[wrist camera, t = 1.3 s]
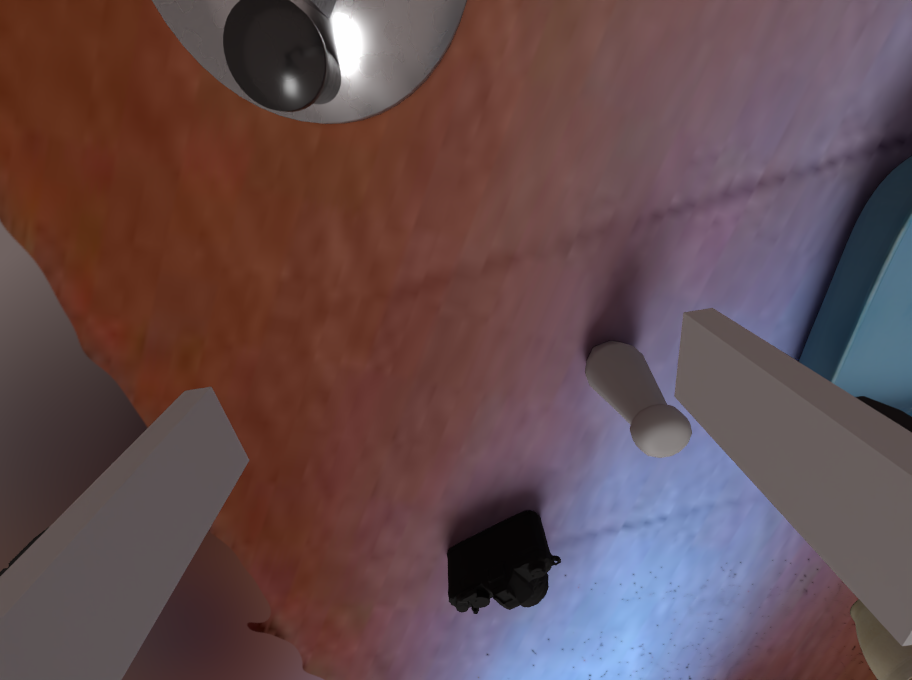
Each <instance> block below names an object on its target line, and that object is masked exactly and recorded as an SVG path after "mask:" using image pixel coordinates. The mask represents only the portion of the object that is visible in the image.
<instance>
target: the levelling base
mask: <svg viewBox="0 0 912 680" xmlns="http://www.w3.org/2000/svg"><path fill="white" fill-rule="evenodd" d="M152 1H153V3H154V4H155V6H156V8H157V9H158V11H159V12H160V14H161V16H162V17H163V19H164V20H165V22H166V24H167V25H168V26H169V28H170V29H171V30H172V31H173V33H174V34H175V35H176V37H177V38H178V39H179V41H180V42H181V43H182V45H183V46H184V47H185V48H186V49H187V50H188V51H189V52H190V54H191V55H192V56H193V57H194V58H195V59H196V60H197V61H198V62H199V63H200V64H201V65H202V66H203V67H204V68H205V69H206V70H207V71H208V72H209V73H211V74H212V75H213V76H214V77H215V78H216V79H217V80H218V81H220V82H221V83H222V84H224V85H225V86H226V87H228V88H229V89H231V90H232V91H233V92H235V93H236V94H238V95H239V96H240V97H242V98H244V99H246V100H248V101H249V102H251V103H253V104H255V105H257V106H259V107H260V108H263V109H265V110H268V111H270V112H273V113H275V114H278V115H280V116H284V117H288V118H292V119H295V120H299V121H307V122H315V123H324V124H338V123H350V122H355V121H361V120H365V119H368V118H371V117H374V116H377V115H379V114H382V113H384V112H385V111H387V110H389V109H391V108H393V107H395V106H397V105H398V104H400V103H401V102H402V101H404V100H405V99H406V98H408V97H409V96H411V95H412V94H413V93H414V92H415V91H416V90H417V89H418V88H419V87H420V86H421V85H422V84H423V83H424V82H425V81H426V80H427V79H428V78H429V76H430V75H431V74H432V73H433V71H434V70H435V69H436V67H437V66H438V65H439V64H440V62H441V60H442V58H443V57H444V55H445V53H446V52H447V50H448V48H449V47H450V45H451V43H452V40H453V38H454V36H455V34H456V31H457V29H458V27H459V24H460V22H461V18H462V15H463V12H464V9H465V6H466V2H467V0H152Z"/></svg>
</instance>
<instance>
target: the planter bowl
mask: <svg viewBox="0 0 912 680" xmlns="http://www.w3.org/2000/svg"><path fill="white" fill-rule="evenodd" d="M850 615H851V617H852V618H853V620H854V621H855V623H856V631H857V636H858V640H859V644H860V646H861V649H862V652H863V654H864V657H865V659H866V661H867V663H868V664H869V666H870V668H871V670H872V671H873V673H874V674H875V676H876V677H877V679H878V680H912V645H908V646H901V645H900V644H899V642H898V641H897V640H896V639H895V638H894V637H893V636H892V635H891V634H890V633H889V631H888V630H887V629H886V628H885V627H884V626H883V625H882V624H881V623H880V622H879V621H878V619H877V618H876V617H875V616H874V615H873V614H872V613H871V612H870V611H869V610H868V608H867V607H866V606H865V605H864V604H863V603H862V602H861V601H860V600H859V599H858V600H857V601H856V602H855V603H854V604H853V606H852V607H851V609H850Z"/></svg>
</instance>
